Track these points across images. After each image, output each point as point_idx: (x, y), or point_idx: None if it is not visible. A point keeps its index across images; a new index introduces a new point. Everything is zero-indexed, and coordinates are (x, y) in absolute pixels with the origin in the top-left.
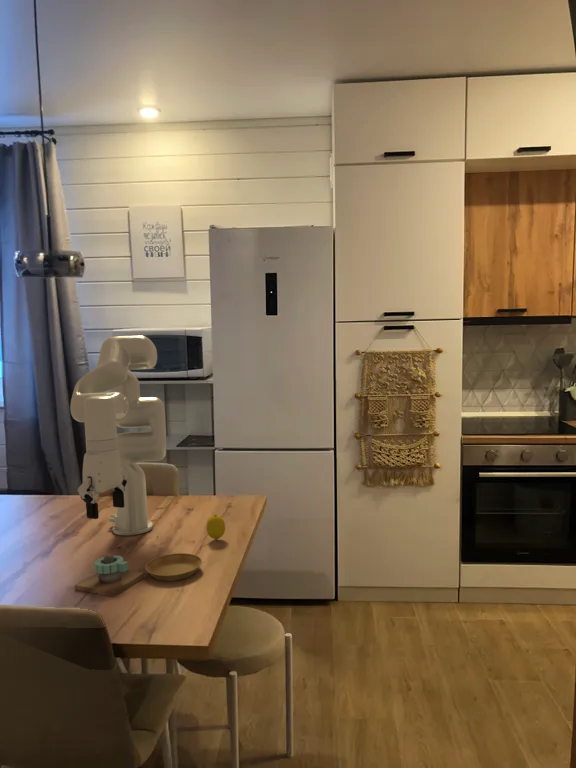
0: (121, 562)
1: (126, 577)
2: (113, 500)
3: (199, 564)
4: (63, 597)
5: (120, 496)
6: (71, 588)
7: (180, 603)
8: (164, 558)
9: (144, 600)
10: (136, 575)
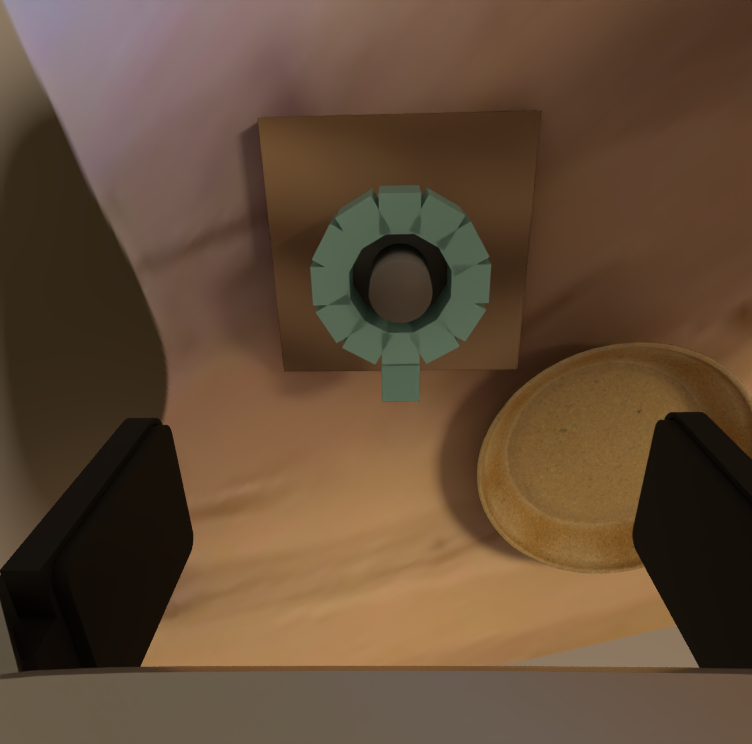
0: (401, 374)
1: None
2: (698, 480)
3: None
4: (168, 129)
5: (708, 653)
6: (266, 79)
7: (349, 597)
8: (706, 367)
9: (316, 487)
10: (477, 355)
